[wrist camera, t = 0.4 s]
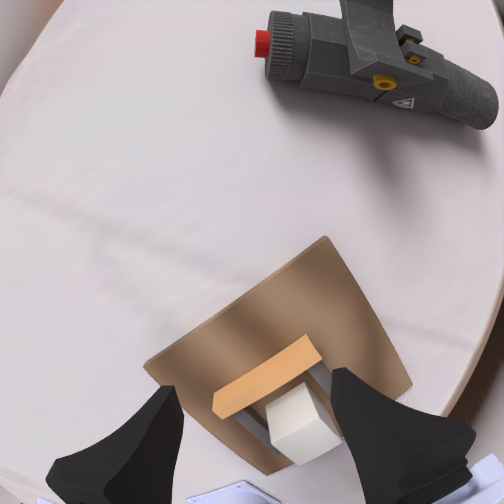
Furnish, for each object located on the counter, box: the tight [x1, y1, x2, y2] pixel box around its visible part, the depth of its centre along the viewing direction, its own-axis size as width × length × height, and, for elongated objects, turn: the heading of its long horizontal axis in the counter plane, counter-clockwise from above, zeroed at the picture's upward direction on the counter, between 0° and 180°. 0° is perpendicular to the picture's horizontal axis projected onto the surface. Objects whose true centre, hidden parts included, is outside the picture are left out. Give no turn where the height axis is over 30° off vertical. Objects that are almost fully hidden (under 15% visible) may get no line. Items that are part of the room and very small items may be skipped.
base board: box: [143, 236, 413, 476], centre depth 21 cm, size 18×18×2 cm
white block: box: [265, 382, 343, 466], centre depth 19 cm, size 4×4×5 cm
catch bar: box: [212, 334, 322, 419], centre depth 20 cm, size 9×1×2 cm, turn 126°
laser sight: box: [255, 0, 499, 130], centre depth 15 cm, size 10×22×10 cm, turn 88°
